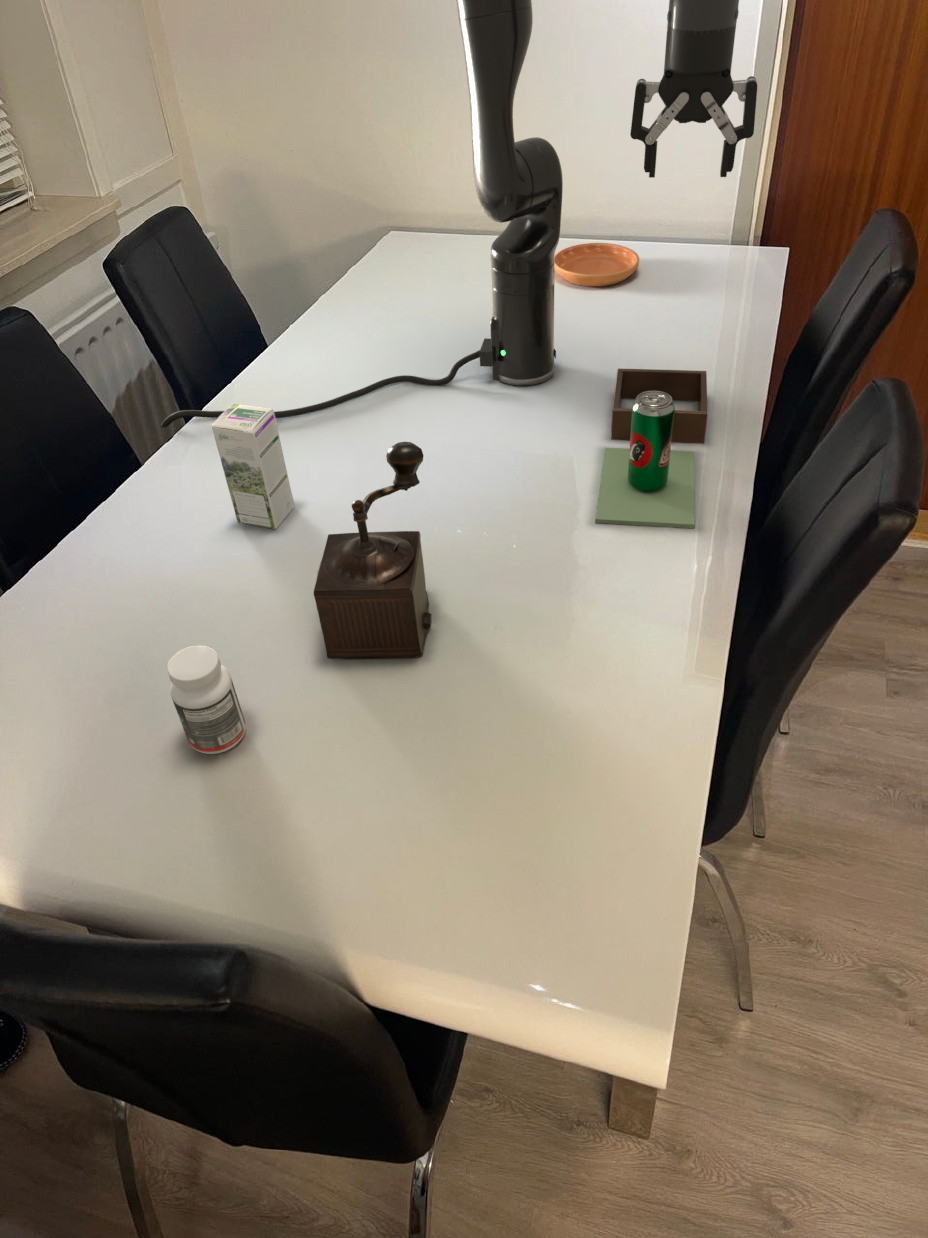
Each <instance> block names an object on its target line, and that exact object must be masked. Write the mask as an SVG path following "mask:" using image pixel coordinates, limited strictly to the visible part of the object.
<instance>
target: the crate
mask: <svg viewBox="0 0 928 1238" xmlns="http://www.w3.org/2000/svg"><path fill="white" fill-rule="evenodd" d="M707 374H708V373H707V370H689V369H687V370H686V369H683V370H682V369H653V368H652V369H649V368H647V369H646V368H619V367H618V368H617V372H616V379H615V387H614V396H613V403H612V412H611V414H612V415H611V432H610V433H611V434H610V436H611V437H610V439H611V440H621V441H630V434H631V419H632V408H627V407H622V400H636V397H637V396H638V395H639V394H640V393H643V392H646V391H661V392H665V393H667V394H669V395H670V396H671V397H672V402H675V401H676V402H679V401H680V402H697V410H688V409H687V410H686V409H685V410H684V409H683V410H682V409H675V412H674V422H673V432H672V442H671V443H694V444H695V443H696V444H704V443H705V438H706V437H705V436H706V429H707V420H708V378H707V377H708V375H707Z"/></svg>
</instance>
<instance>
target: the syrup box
mask: <svg viewBox="0 0 928 1238" xmlns="http://www.w3.org/2000/svg"><path fill="white" fill-rule="evenodd" d="M223 411H224V412H223V413H222V414H221V415H220V416H219V417H218V418H216V419H215V420H214V422H213V423H212V424H211V431H212V434H213V437H214V441H215V445H216V449H217V452H218V455H219V459H220V462H221V466H222V470H223V473H224V477H225V481H226V484H227V488H228V492H229V495H230V500H231V503H232V506H233V510H234V514H235V517H236V522H237V523H238V524H241V525H246V526H247V525H248V526H253V527H259V528H266V529H270V530H277V528H279V526H280V525H281V524H282V523H283V522H284V521H285V519H287V517H288V516H289V514H291V512H292V511H293V510H294V508H295V506H296V505H295V500H294V496H293V492H292V488H291V483H290V480H289V474H288V470H287V465H286V461H285V456H284V451H283V446H282V442H281V437H280V432H279V428H278V423H277V418H275V414H274V412H275V409H273V408H268V407H261V406H251V405H245V404H236V403H233V404H232V405H230V406H229V407H227V409H225V410H223Z"/></svg>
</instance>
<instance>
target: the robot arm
mask: <svg viewBox="0 0 928 1238" xmlns="http://www.w3.org/2000/svg"><path fill="white" fill-rule="evenodd" d="M739 4H740V0H668V11H667V16H666V20H667V24H666V37H665V41H666V42H665V51H664V52H665V53H664V65H663V75H662V78H661V79H660V81H647V80H646V79H645V78H640V79H637V82H636V84H635V91H634V99H633V106H632V107H633V109H632V117H631V124H630V125H631V126H630V135H629V136H630V137H631V138H630V139H632V140H638V141H641V142H642V143H643V144H644V146H645V147H644V160H643V161H644V162H643V170H644V173H648V178H653V179H654V178H656V169H657V168H656V165H657V153H658V139H659V138H660V136H661V135H662V134H663V132H664V131H665V130H667V128H668V127H669V125H670V124H671V123H672V122H673V121H676V122H678V124H687V123H688V124H689V123H691V122H694V123H698V124H707V122H708V121H710V120H713V123H714V124H715V126H716V127H717V129H718V130H719V131H720V133H721V134H722V136H723V138H724V139H723V145H722V153H721V162H720V170H719V171H720V172H719V176H720V178H727V177H728V176H727V175H728V173H732V171H733V169H734V167H735V165H734V164H735V156H736V149H737V144H738V143H739V142H740V141H742V140H745V139H751V138H752V137H753V136H754V133H755V124H756V123H755V122H756V110H757V109H756V108H757V95H758V81H757V78H756V77H755V76H754V75H751V76H748V77H747V78H746V79H740V80H739V79H738V80H733V78H732V66H733V65H732V64H733V56H734V45H735V38H736V30H737V21H738V19H739ZM456 8H457V15H458V23H459V28H460V35H461V40H462V46H463V54H464V55H463V56H464V63H465V72H466V79H467V80H466V81H467V89H468V95H469V96H468V97H469V109H470V125H471V127H470V128H471V148H472V150H471V151H472V167H473V177H474V187H475V191H476V195H477V198H478V201H479V205H480V206H481V209H482V210H483V212H484V214H485V215H486V216H487V217H488V218H489V219H490V220H492V221H493V222H495V223H500V224H501V223H507V222H509V223H507V226H506V228H505V229H503V231H502V232H501V233H500V234H499V235H498V236H497V237H496V238H495V239H494V240H493V242H492V243H491V245H490V246H491V247H490V255H489V256H490V274H491V275H490V276H491V277H490V278H491V295H492V296H491V301H492V316H491V319H490V321H489V322H490V324H489V325H490V327H489V328H490V338H487V337H486V338H484V339H483V341H482V344H481V347H480V349H478V350H477V351H475V352H472V353H470V354H468V355H466V356H464V357H462V358H461V359H459V360H457V362H455V363H454V365H453V366H452V367H451V370H450V371H449V373H448V374H447V376H445V377H443V378H439V379H429V378H424V377H420V376H416V375H409V374H408V375H403V374H402V375H396V376H392V377H388V378H383V379H382V380H379V381H376V382H374V383H372V384H369V385H367V386H365V387H362V388H360V389H356V390H353V391H351V392H348V393H345V394H343V395H340V396H337V397H334V398H332V399H329V400H326V401H323V402H319V403H316V404H312V405H308V406H302V407H298V408H293V409H286V410H277V411H274V414H275V418H276V419H282V418H283V419H284V418H291V417H296V416H297V417H298V416H301V415H306V414H311V413H315V412H319V411H322V410H326V409H330V408H332V407H335V406H338V405H340V404H343V403H345V402H346V403H347V402H349V401H351V400H353V399H357V398H360V397H362V396H364V395H367V394H369V393H371V392H374V391H376V390H378V389H381V388H384V387H386V386H389V385H393V384H399V383H414V384H419V385H424V386H432V387H433V386H435V387H441V386H444V385H446V384H449V383H451V382H452V381H453V380H454V379H455V378H456V375H457V373H458V371H459V370H460V369H461V368H462V367H463V366H464V365H466V364H468V363H470V362H472V361H474V360H476V359H479V367H485V368H486V367H487V368H490V367H491V370H492V372H491V373H492V375H491V376H492V380H493V381H500V382H502V383H505V384H507V385H513V386H533V385H538V384H541V383H544V382H546V381H548V380H549V379H551V378H552V377H553V376H554V374H555V359H557V351H556V349H555V269H554V256H555V255H556V250H557V247H558V245H559V242H560V237H561V225H562V224H561V222H562V206H563V190H564V189H563V183H564V182H563V180H564V179H563V170H562V165H561V161H560V160H561V159H560V158H559V155H558V153H557V151H556V149H555V147H554V146H553V145H552V144H551V143H550V142H549V141H548V140H547V139H544V138H542V137H539V136H537V137H528V138H524V139H521V140H517V141H515V131H514V100H515V94H516V89H517V87H518V82H519V79H520V75H521V72H522V68H523V66H524V63H525V59H526V56H527V51H528V48H529V45H530V41H531V37H532V31H533V24H534V23H533V22H534V21H533V20H534V19H533V2H532V0H456ZM733 92H735V93H736V94H737V98H738V100H739V102H742V103H743V114H742V115H743V116H742V124H741V125H738V126H734V123H732V121H731V119H730V118H729V115H728V113H727V111H726V110H725V108H724V104H725V103H726V102H727V100H729V98H730V97H731V95H732V93H733ZM656 94H658V95H659V98H660V99H661V101H662V103H663V104H664V107H663V109H662V110H661V111H660V112H659V114H658V115H657V117H656V118H655V120H654V121H653V122H652V124H651V125H650V127H647V126H643V120H644V119H643V118H644V113H645V112H644V111H645V104H649V103H651V101H652V99H653V96H654V95H656ZM224 411H225V410H200V409H199V410H198V409H185V410H184V409H183V410H178V411H176V412H173V413H171V414H169V415H168V416H167V417H165V419H164V420H163V421H162V423H161V425H160V428H167V427H169V426H170V425H171V424H172V423H173V422H174V421H177V420H178V419H179V420H180V419H183V418H208V419H210V418H211V419H214V418H215V419H218V417H219V416H220V415H221V414H222V413H223V412H224Z"/></svg>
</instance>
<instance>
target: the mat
mask: <svg viewBox="0 0 928 1238" xmlns="http://www.w3.org/2000/svg"><path fill="white" fill-rule="evenodd" d="M629 450H630V448H626V447H625V448H624V447H623V448H621V447H604V448H603V457H602V465H601V473H600V479H599V487H598V495H597V502H596V509H595V518H594V523H595V524H610V525H627V526H645V527H647V526H648V527H663V528H679V529H680V528H681V529H696V528H695V527H696V476H695V475H696V462H695V461H696V458H695V457H696V456H695V455H696V454H695V452H696V451H694V450H693V451H692V450H672V449H671V452H670V462H669V472H668V481H667V484H666V485H665V486H664V487H663V488H661V489H660V490H658V491H654V492H642V491H638V490H636V489H634V488H633V487H632V486H631V485H630V484H629V482H628V465H629Z"/></svg>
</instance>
